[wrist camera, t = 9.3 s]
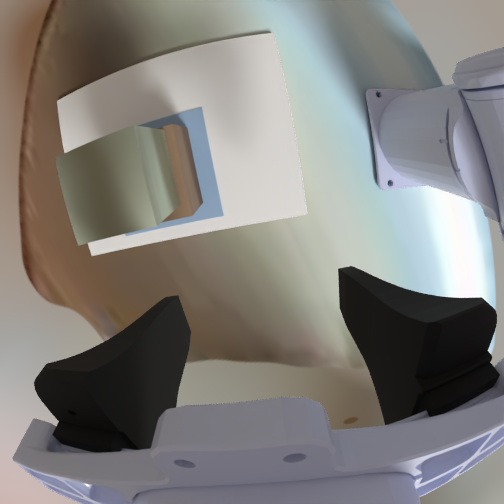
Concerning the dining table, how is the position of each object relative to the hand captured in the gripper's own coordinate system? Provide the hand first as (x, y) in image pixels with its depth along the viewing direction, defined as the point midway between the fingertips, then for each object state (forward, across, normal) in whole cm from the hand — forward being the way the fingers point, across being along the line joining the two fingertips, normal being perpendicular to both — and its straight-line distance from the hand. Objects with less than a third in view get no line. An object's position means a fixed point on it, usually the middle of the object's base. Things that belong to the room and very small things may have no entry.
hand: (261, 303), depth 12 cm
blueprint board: (+10, +5, -8) cm, 14 cm away
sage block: (+5, +6, -6) cm, 10 cm away
